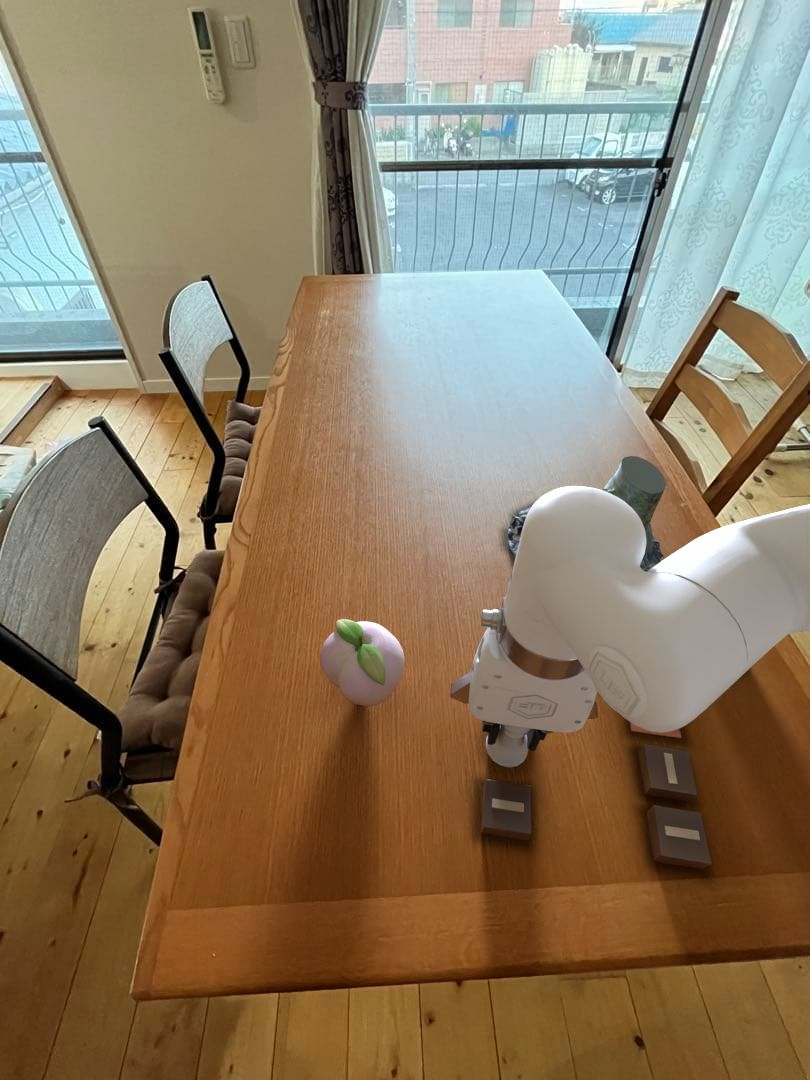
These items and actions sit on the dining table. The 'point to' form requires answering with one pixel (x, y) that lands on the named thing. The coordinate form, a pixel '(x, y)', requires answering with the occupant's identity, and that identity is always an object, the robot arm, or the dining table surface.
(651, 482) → the tree stump
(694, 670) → the robot arm
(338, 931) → the dining table surface
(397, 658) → the decorative fruit
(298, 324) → the dining table surface
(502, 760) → the rook chess piece
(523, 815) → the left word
